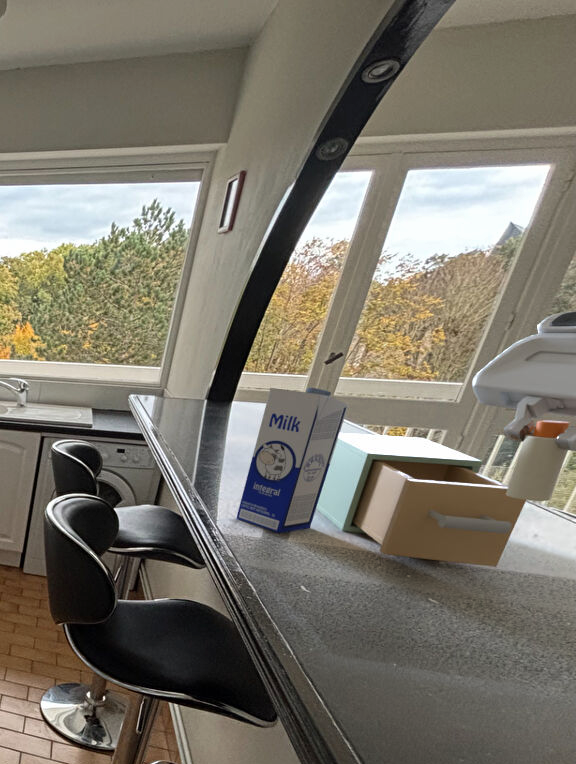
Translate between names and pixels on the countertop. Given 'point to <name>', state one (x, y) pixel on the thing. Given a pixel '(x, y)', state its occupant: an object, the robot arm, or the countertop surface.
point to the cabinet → (355, 464)
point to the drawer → (436, 512)
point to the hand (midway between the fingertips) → (537, 441)
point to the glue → (538, 463)
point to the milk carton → (291, 459)
